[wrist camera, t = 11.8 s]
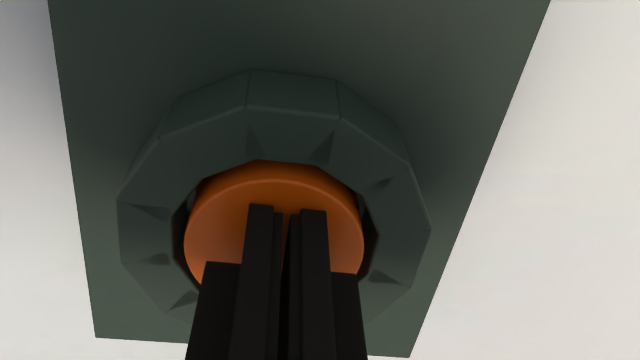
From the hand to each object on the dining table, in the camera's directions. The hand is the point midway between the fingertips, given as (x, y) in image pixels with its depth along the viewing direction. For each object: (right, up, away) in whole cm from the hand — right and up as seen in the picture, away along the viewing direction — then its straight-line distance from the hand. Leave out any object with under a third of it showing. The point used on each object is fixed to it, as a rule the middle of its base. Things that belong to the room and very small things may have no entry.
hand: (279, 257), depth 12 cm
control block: (0, +2, +3) cm, 4 cm away
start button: (0, +1, +1) cm, 2 cm away
